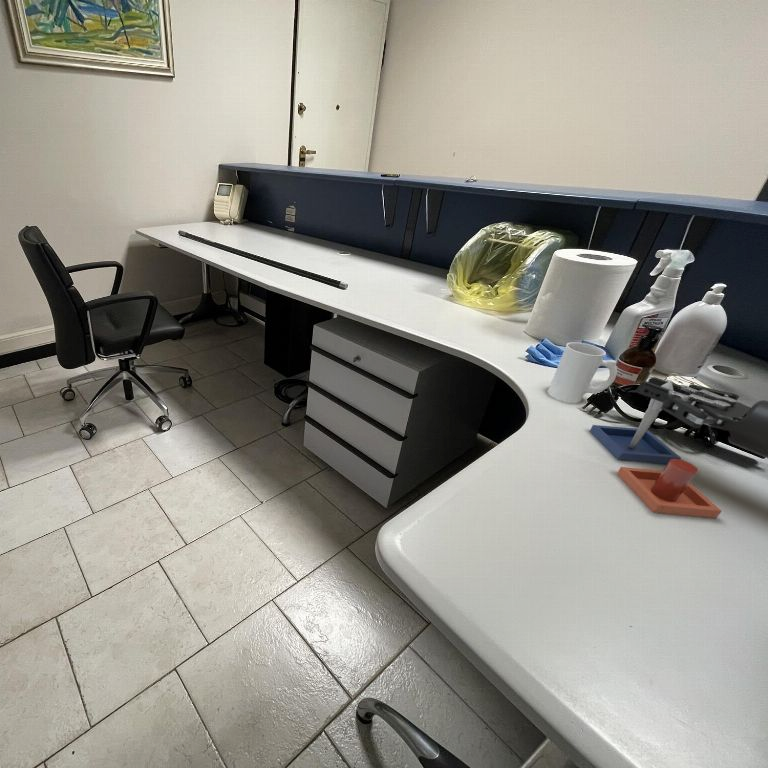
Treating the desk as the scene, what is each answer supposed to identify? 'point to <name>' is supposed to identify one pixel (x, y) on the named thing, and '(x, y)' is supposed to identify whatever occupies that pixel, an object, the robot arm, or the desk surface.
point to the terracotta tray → (686, 504)
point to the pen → (649, 417)
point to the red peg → (673, 480)
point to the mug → (579, 372)
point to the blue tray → (645, 450)
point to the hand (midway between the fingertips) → (644, 384)
